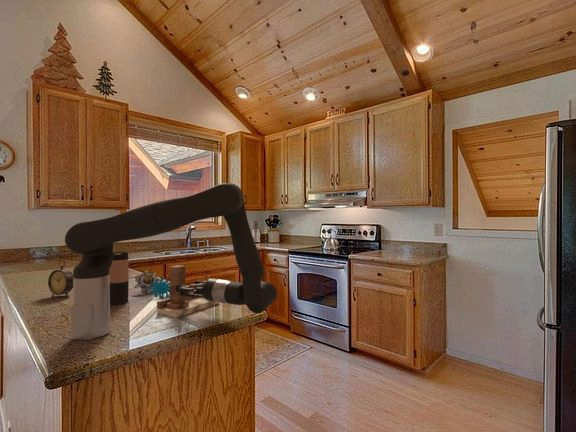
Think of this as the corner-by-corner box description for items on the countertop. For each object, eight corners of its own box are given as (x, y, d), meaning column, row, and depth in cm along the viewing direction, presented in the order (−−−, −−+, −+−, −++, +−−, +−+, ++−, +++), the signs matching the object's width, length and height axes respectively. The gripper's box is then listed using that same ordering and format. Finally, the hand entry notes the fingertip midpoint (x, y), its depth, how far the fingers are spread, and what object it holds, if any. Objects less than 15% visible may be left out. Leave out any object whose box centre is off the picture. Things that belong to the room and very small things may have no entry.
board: (176, 318, 109) (176, 305, 109) (157, 313, 114) (156, 301, 114) (218, 303, 127) (218, 292, 127) (200, 300, 132) (200, 289, 132)
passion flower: (148, 305, 145) (133, 286, 139) (140, 296, 153) (126, 278, 147) (169, 288, 150) (156, 270, 144) (161, 280, 158) (147, 263, 152)
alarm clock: (47, 296, 140) (46, 260, 140) (59, 293, 146) (58, 258, 146) (66, 298, 137) (65, 260, 137) (77, 295, 142) (77, 259, 142)
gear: (149, 296, 132) (150, 276, 139) (147, 304, 136) (148, 284, 142) (177, 296, 137) (176, 277, 144) (174, 304, 141) (174, 285, 147)
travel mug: (103, 303, 128) (102, 253, 128) (121, 299, 135) (120, 251, 135) (115, 306, 124) (114, 254, 124) (133, 301, 131) (132, 252, 131)
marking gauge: (178, 309, 111) (178, 268, 111) (166, 307, 114) (166, 266, 114) (190, 305, 116) (190, 265, 116) (179, 303, 119) (178, 264, 119)
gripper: (234, 275, 111) (200, 272, 119) (204, 283, 99) (169, 278, 107) (234, 297, 111) (200, 292, 119) (205, 307, 99) (169, 301, 107)
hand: (186, 285), depth 113 cm, fingers open, 8 cm apart
